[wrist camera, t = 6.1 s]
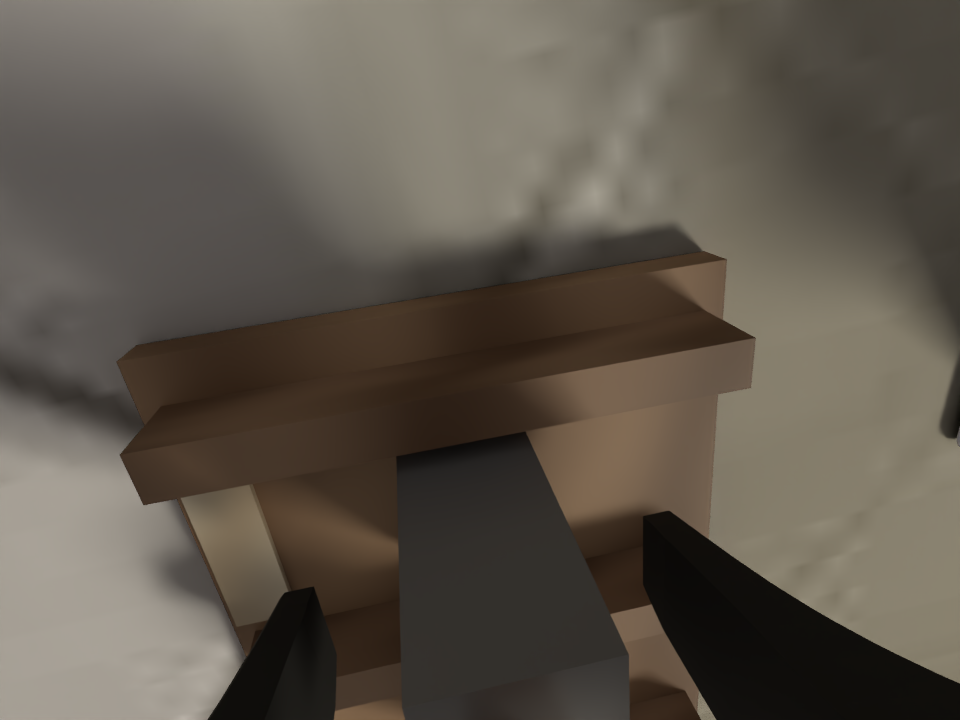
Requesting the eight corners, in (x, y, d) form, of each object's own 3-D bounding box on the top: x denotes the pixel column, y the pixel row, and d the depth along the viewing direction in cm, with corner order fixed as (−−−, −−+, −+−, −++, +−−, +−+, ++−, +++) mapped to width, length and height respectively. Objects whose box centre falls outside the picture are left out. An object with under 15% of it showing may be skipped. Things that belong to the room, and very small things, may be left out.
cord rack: (704, 251, 14) (783, 280, 11) (682, 703, 21) (726, 789, 18) (136, 345, 12) (63, 404, 10) (324, 793, 20) (313, 900, 17)
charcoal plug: (514, 407, 13) (687, 780, 6) (527, 530, 15) (676, 953, 7) (395, 429, 13) (405, 856, 5) (422, 552, 15) (460, 1017, 7)
